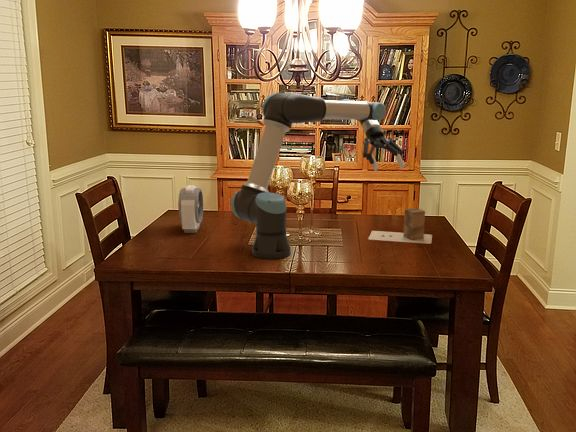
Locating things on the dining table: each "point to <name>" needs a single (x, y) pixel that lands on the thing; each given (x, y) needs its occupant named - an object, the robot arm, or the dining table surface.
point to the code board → (397, 237)
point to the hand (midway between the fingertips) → (390, 168)
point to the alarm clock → (190, 208)
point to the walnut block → (414, 223)
